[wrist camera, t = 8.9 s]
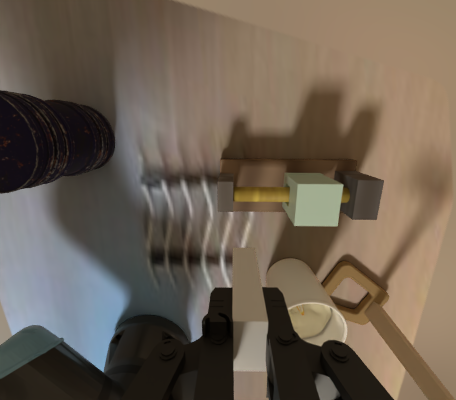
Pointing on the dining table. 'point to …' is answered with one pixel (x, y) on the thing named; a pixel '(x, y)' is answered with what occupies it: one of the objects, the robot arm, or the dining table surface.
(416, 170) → the dining table surface
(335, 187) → the sleeve
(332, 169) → the rail
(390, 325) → the headphone stand
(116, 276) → the dining table surface
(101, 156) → the storage jar
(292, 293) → the candle holder
